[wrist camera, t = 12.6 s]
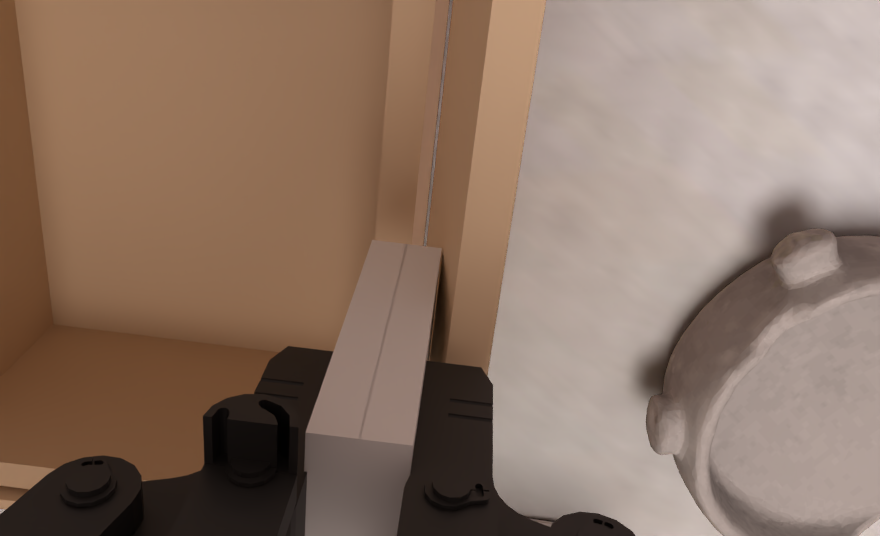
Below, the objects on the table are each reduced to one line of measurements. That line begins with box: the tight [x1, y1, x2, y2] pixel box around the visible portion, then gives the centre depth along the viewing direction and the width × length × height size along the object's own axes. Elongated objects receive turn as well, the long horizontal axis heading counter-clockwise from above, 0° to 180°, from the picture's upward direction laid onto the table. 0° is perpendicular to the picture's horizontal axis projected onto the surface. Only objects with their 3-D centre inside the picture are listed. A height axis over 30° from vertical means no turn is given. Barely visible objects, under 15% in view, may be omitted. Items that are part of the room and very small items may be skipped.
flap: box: [426, 0, 546, 375], centre depth 18 cm, size 1×21×6 cm, turn 174°
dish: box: [646, 229, 880, 536], centre depth 31 cm, size 14×14×5 cm
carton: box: [0, 0, 450, 509], centre depth 25 cm, size 16×23×9 cm
